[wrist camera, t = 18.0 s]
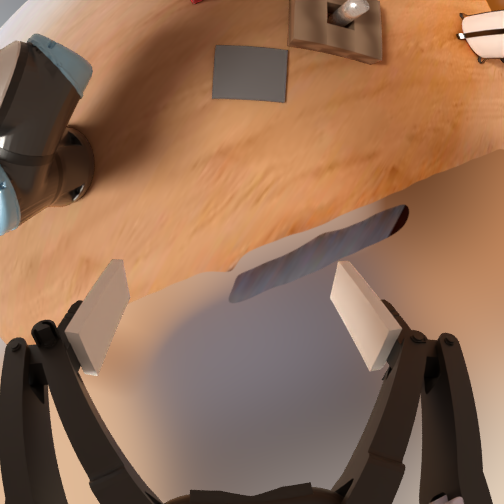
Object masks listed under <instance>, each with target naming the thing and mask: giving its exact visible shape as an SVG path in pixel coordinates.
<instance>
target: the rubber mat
mask: <svg viewBox="0 0 504 504" xmlns="http://www.w3.org/2000/svg"><path fill="white" fill-rule="evenodd" d="M287 55H288V50H282V49H274V48H264V47H252V46H233V45H216V49H215V61H214V74H213V89H212V99H242V100H259V101H272V102H282V103H285V91H286V74H287Z"/></svg>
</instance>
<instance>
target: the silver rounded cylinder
mask: <svg viewBox="0 0 504 504" xmlns="http://www.w3.org/2000/svg"><path fill="white" fill-rule="evenodd" d="M368 10H369V4H368V2H367V1H366V0H347V1H346V2H345V3H344V4H343V5H342V6H341V7H339V8H338V9H337V10H336V11H335V12H334V13H333V14H332V15H330V16H329V17H328V18H327V23H328V24H332V25H336V26H340V27H344V26H346V25H347V24H349V23H350V22H352V21H353V20H354V19H356V18H357V17H359V16H360V15H362V14H363V13H365V12H366V11H368Z"/></svg>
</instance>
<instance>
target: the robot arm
mask: <svg viewBox="0 0 504 504" xmlns="http://www.w3.org/2000/svg"><path fill="white" fill-rule="evenodd" d="M92 72H93V71H92V66H91V64H90V63H89V62H88V61H87V60H85V59H84V58H83V57H81V56H80V55H78V54H77V53H75V52H73V51H72V50H70V49H68V48H67V47H65V46H63V45H61V44H59V43H56V42H55V41H53V40H51V39H49V38H47V37H45V36H43V35H40V34H33V35H32V36H31V38H29V39H28V41H27V43H24V42H21V41H14V42H12V43H11V44H9V45H7V46H6V47H4V48H3V49H1V50H0V236H1V235H4V234H5V233H7V232H9V231H10V230H15V229H16V228H17V227H18V226H19V225H21V224H22V223H24V222H25V221H27V220H28V219H30V218H31V217H33V216H34V215H36V214H37V213H39V212H40V211H42V210H43V209H45V208H47V207H63V206H67V205H69V204H72V203H73V202H75V201H77V200H78V199H79V198H81V197H82V196H83V195H84V194H85V192H86V191H87V189H88V188H89V186H90V183H91V181H92V178H93V173H94V156H93V152H92V149H91V146H90V144H89V142H88V140H87V139H86V138H85V136H84V135H83V134H82V133H80V132H79V131H77V130H75V129H73V128H66V127H67V124H68V122H69V120H70V118H71V116H72V114H73V112H74V110H75V107H76V105H77V103H78V102H79V100H80V99H82V97H83V92H84V90H85V88H86V86H87V84H88V82H89V80H90V78H91V76H92ZM129 299H130V294H129V289H128V284H127V279H126V273H125V268H124V262H123V260H120V259H112V260H111V261H110V263H109V264H108V266H107V267H106V268H105V270H104V271H103V273H102V274H101V275H100V277H99V278H98V280H97V281H96V283H95V284H94V286H93V287H92V289H91V290H90V291H89V293H88V294H87V296H86V298H85V299H84V301H80V300H78V301H77V302H76V303H74V304H73V305H72V306H71V307H70V309H69V310H68V313H66V315H65V316H64V318H63V320H62V321H61V323H60V324H59V326H58V327H57V328H56V325H55V323H54V322H53V321H51V320H43V321H40V322H38V323H37V324H35V325H34V326H33V328H32V331H31V334H32V336H33V338H34V340H35V342H36V345H27V343H26V341H25V340H24V339H23V338H14V339H12V340H11V341H10V342H9V343H8V344H7V346H6V349H5V355H4V361H3V368H2V376H1V385H0V465H1V473H2V481H3V486H4V493H5V504H68V502H67V499H66V496H65V492H64V489H63V485H62V481H61V477H60V474H59V469H58V464H57V460H56V455H55V449H54V443H53V437H52V429H51V421H50V413H49V412H50V411H49V399H48V385H49V389H50V392H51V395H52V397H53V400H54V403H55V406H56V408H57V411H58V414H59V417H60V419H61V421H62V424H63V426H64V429H65V431H66V433H67V435H68V438H69V440H70V442H71V444H72V447H73V448H74V451H75V453H76V455H77V457H78V459H79V461H80V462H81V464H82V466H83V468H84V470H85V472H86V473H87V475H88V477H89V479H90V482H89V485H90V488H91V490H92V492H93V493H94V495H95V496H96V498H97V500H98V501H99V503H100V504H163V503H162V502H161V500H160V499H159V498H158V497H157V496H156V495H155V494H154V493H153V492H152V491H151V490H150V488H149V487H148V486H147V485H146V484H145V482H144V481H143V480H142V479H141V477H140V476H139V475H138V474H137V472H136V471H135V469H134V468H133V467H132V465H131V464H130V463H129V461H128V460H127V458H126V457H125V455H124V454H123V452H122V451H121V449H120V448H119V446H118V445H117V443H116V442H115V440H114V438H113V437H112V435H111V434H110V432H109V430H108V429H107V427H106V425H105V423H104V422H103V420H102V419H101V416H100V415H99V413H98V411H97V409H96V407H95V405H94V403H93V401H92V399H91V397H90V396H89V393H88V391H87V390H86V387H85V385H84V383H83V381H82V379H81V376H80V374H79V373H78V371H79V369H80V366H81V367H82V369H83V371H84V373H85V374H89V375H95V376H98V375H99V372H100V369H101V366H102V364H103V361H104V359H105V356H106V353H107V351H108V348H109V346H110V343H111V341H112V338H113V336H114V334H115V331H116V329H117V327H118V324H119V322H120V319H121V317H122V315H123V313H124V310H125V308H126V306H127V304H128V302H129ZM330 299H331V300H332V302H333V304H334V306H335V308H336V309H337V311H338V313H339V315H340V316H341V318H342V320H343V322H344V324H345V325H346V327H347V329H348V331H349V333H350V335H351V336H352V338H353V340H354V342H355V344H356V346H357V348H358V349H359V352H360V353H361V355H362V357H363V359H364V361H365V363H366V365H367V367H368V369H369V371H373V370H379V369H382V368H383V366H384V364H385V363H386V361H387V362H388V364H389V368H388V370H387V371H386V373H385V375H384V377H383V379H382V380H384V381H383V384H382V387H381V390H380V392H379V395H378V398H377V401H376V403H375V406H374V408H373V411H372V413H371V416H370V418H369V420H368V423H367V425H366V427H365V430H364V432H363V434H362V436H361V439H360V441H359V443H358V445H357V447H356V449H355V451H354V453H353V455H352V457H351V459H350V461H349V463H348V465H347V467H346V469H345V470H344V472H343V474H342V476H341V477H340V479H339V480H338V481H337V482H336V483H335V485H334V486H333V488H332V489H331V491H330V490H327V489H323V488H317V487H311V483H310V482H309V483H304V484H298V485H292V486H285V487H280V488H278V489H274V490H271V491H269V492H265V493H262V494H259V495H255V496H246V495H240V494H234V493H228V492H223V491H204V490H202V491H201V490H190V494H189V495H184V496H180V497H177V498H175V499H172V500H170V501H168V502H166V503H165V504H392V502H393V500H394V497H395V495H396V493H397V490H398V488H399V485H400V483H401V480H402V477H403V475H404V471H405V465H404V464H402V460H403V457H404V454H405V451H406V448H407V445H408V442H409V438H410V435H411V431H412V427H413V424H414V420H415V416H416V412H417V407H418V403H419V398H420V394H421V406H422V465H421V479H420V493H419V503H420V504H493V503H492V499H491V496H490V492H489V489H488V486H487V483H486V479H485V476H484V473H483V465H482V450H481V440H480V432H479V425H478V419H477V412H476V407H475V402H474V397H473V392H472V387H471V383H470V379H469V375H468V372H467V367H466V364H465V360H464V357H463V353H462V350H461V347H460V344H459V341H458V340H457V338H456V337H455V336H454V335H452V334H449V333H442V334H441V335H440V336H439V338H438V340H428V339H427V337H426V336H425V335H424V334H423V333H421V332H419V331H415V330H411V329H410V328H409V326H408V325H407V324H406V322H405V321H404V320H403V319H402V318H401V316H399V313H398V312H397V311H396V310H395V308H394V307H393V306H392V305H391V304H390V303H388V302H387V301H386V300H380V299H379V297H378V296H377V295H376V294H375V292H374V291H373V290H372V289H371V287H370V286H369V285H368V284H367V282H366V281H365V280H364V279H363V277H362V276H361V275H360V274H359V272H358V271H357V270H356V269H355V268H354V266H353V265H352V264H351V263H350V262H349V261H338V265H337V270H336V274H335V279H334V283H333V287H332V291H331V296H330Z"/></svg>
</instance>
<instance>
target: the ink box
mask: <svg viewBox="0 0 504 504" xmlns="http://www.w3.org/2000/svg"><path fill="white" fill-rule="evenodd" d="M190 1H191V2H192V3H193V4H196V3H198V2H200V1H202V0H190Z"/></svg>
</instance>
